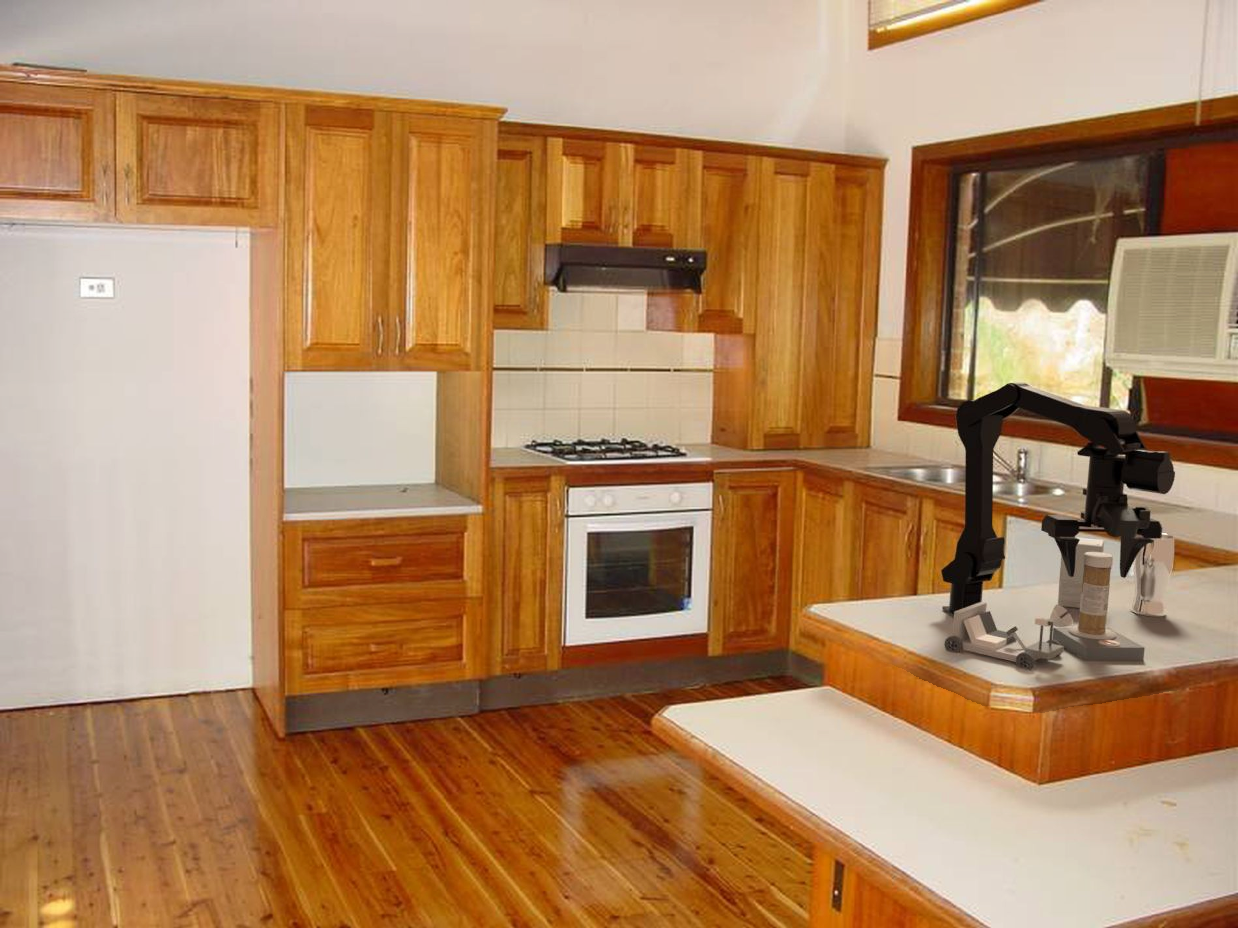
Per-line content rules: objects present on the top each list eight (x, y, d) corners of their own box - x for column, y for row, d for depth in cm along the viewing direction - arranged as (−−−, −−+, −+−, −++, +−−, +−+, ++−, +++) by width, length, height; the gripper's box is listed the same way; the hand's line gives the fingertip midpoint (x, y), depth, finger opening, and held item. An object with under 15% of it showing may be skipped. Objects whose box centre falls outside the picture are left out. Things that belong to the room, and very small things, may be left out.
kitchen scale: (1052, 639, 216) (1053, 625, 216) (1107, 640, 217) (1108, 625, 217) (1085, 660, 204) (1086, 644, 204) (1143, 660, 205) (1144, 645, 205)
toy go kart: (1083, 603, 203) (1054, 616, 194) (1077, 662, 204) (1048, 677, 196) (979, 583, 215) (947, 594, 206) (974, 639, 216) (943, 652, 208)
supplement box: (1100, 603, 244) (1105, 539, 243) (1097, 611, 238) (1102, 545, 236) (1060, 597, 247) (1065, 535, 246) (1056, 605, 241) (1061, 541, 239)
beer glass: (1128, 614, 236) (1135, 536, 234) (1128, 606, 242) (1135, 530, 240) (1168, 619, 233) (1176, 540, 231) (1167, 610, 240) (1175, 534, 238)
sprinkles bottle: (1086, 626, 216) (1093, 549, 214) (1111, 632, 212) (1118, 554, 210) (1071, 630, 213) (1078, 552, 211) (1096, 636, 209) (1103, 557, 207)
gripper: (1074, 492, 200) (1066, 587, 202) (1184, 494, 202) (1175, 588, 204) (1043, 481, 211) (1036, 572, 213) (1148, 483, 213) (1140, 573, 215)
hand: (1097, 576), depth 211 cm, fingers open, 9 cm apart
